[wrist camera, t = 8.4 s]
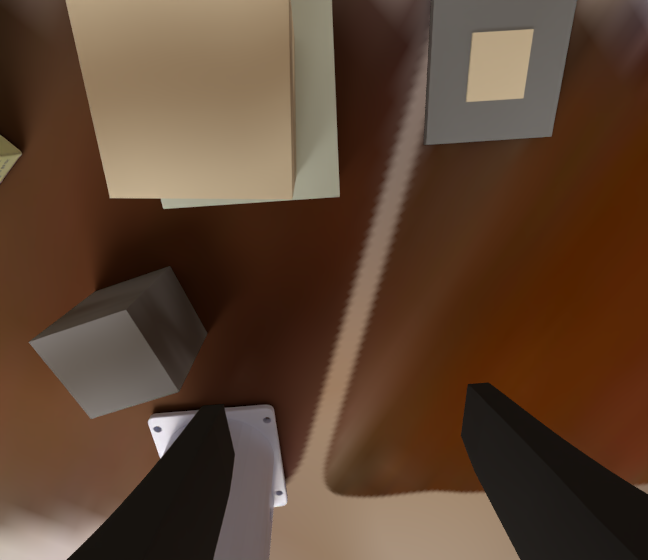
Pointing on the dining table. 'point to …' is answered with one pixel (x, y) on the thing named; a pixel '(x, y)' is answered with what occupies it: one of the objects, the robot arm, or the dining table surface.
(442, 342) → the dining table surface
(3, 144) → the box
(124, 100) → the birch block
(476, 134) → the tile
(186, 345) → the gray block
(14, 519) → the dining table surface
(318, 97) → the grey-green pedestal
